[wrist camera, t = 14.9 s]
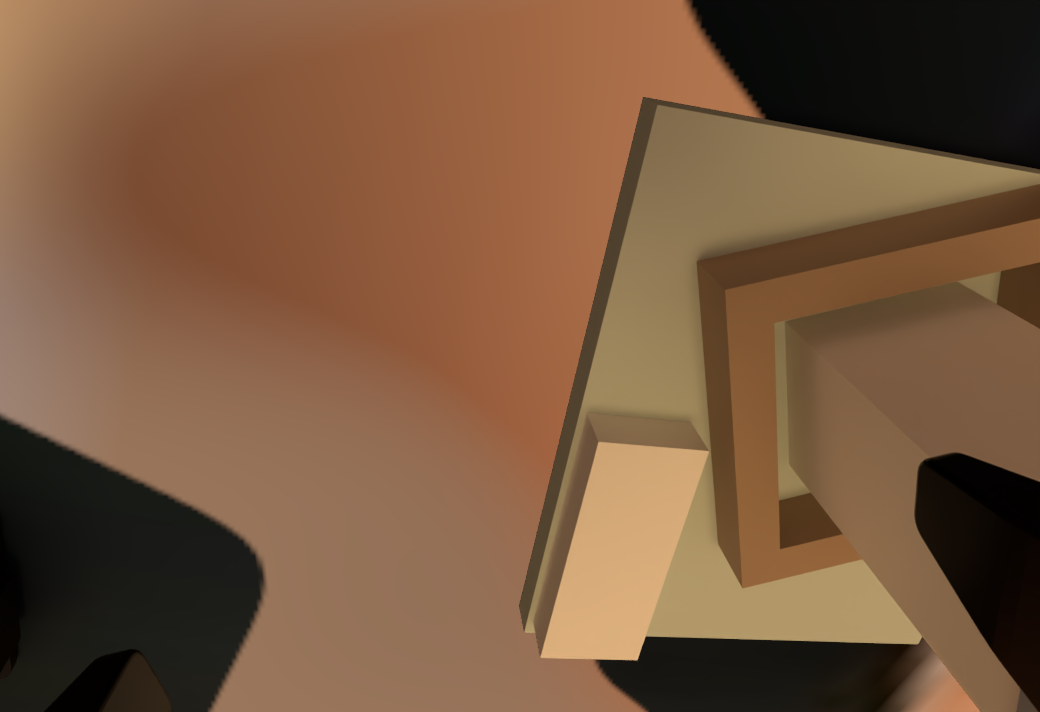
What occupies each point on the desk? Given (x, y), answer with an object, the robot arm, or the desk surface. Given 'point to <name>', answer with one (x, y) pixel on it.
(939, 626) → the tapered square pillar
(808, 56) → the desk surface
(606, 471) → the plate
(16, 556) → the desk surface
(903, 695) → the desk surface
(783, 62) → the desk surface
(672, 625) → the jig
